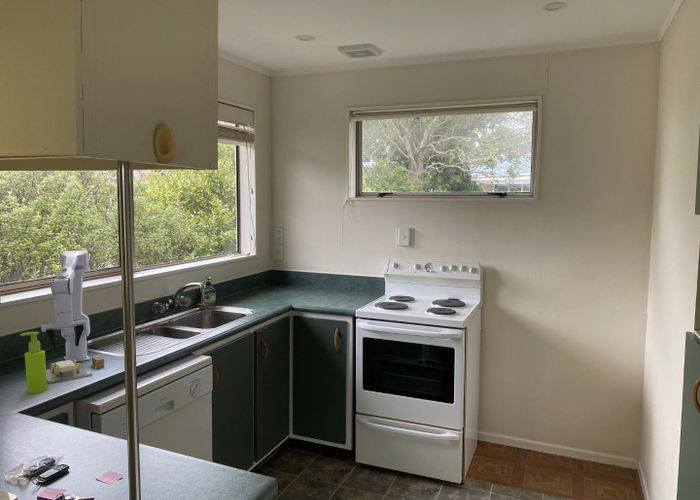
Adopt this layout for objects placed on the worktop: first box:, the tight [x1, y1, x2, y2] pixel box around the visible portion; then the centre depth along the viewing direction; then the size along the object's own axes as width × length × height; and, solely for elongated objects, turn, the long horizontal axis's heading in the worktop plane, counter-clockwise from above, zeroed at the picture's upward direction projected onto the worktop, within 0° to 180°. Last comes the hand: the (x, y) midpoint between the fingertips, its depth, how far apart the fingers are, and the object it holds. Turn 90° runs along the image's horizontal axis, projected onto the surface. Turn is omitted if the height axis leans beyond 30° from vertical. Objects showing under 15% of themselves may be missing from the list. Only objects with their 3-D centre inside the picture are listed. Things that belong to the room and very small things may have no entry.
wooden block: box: [91, 355, 105, 369], centre depth 210 cm, size 6×3×3 cm, turn 39°
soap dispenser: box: [19, 331, 48, 395], centre depth 182 cm, size 6×7×20 cm
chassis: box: [46, 360, 93, 385], centre depth 200 cm, size 16×14×4 cm
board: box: [54, 360, 76, 372], centre depth 200 cm, size 9×5×2 cm, turn 39°
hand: (65, 347), depth 200 cm, fingers open, 7 cm apart
